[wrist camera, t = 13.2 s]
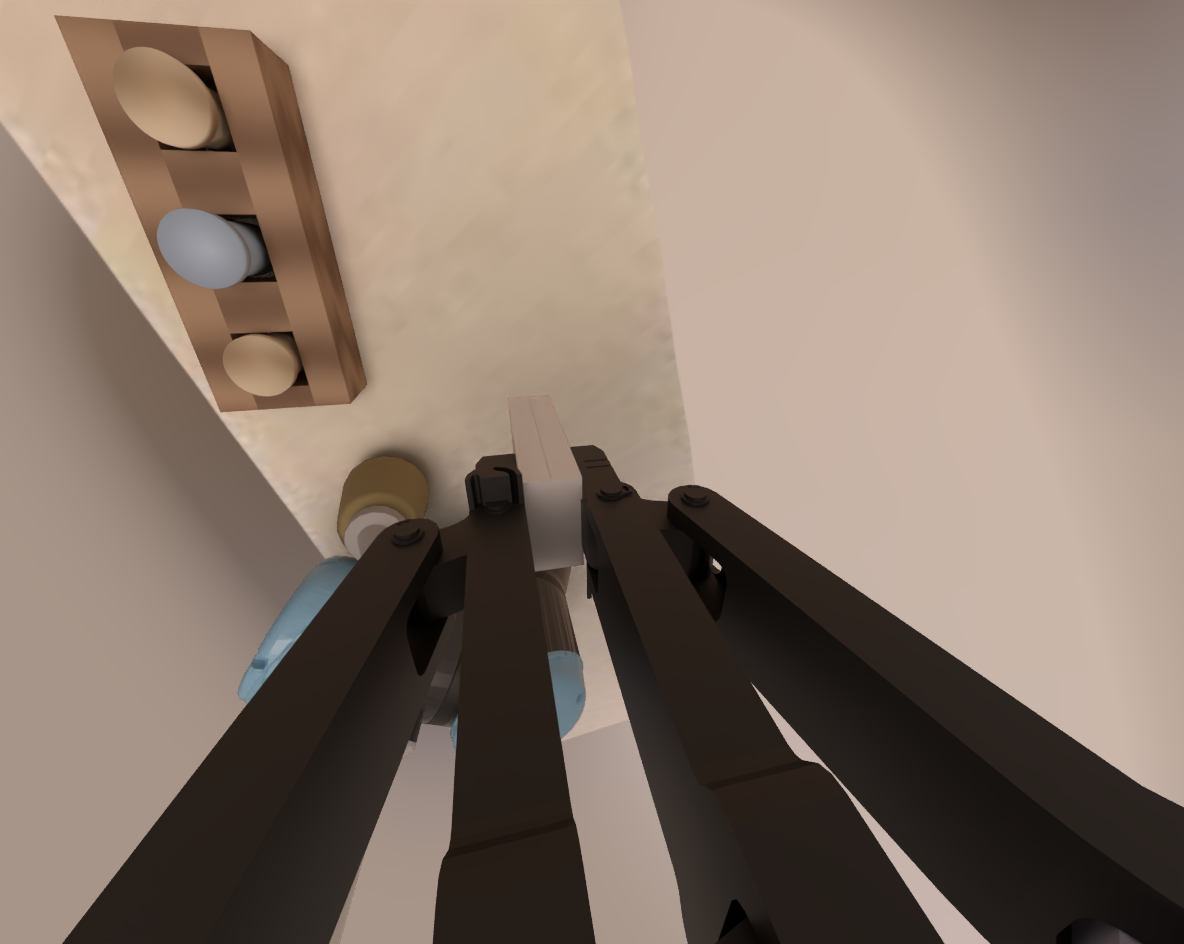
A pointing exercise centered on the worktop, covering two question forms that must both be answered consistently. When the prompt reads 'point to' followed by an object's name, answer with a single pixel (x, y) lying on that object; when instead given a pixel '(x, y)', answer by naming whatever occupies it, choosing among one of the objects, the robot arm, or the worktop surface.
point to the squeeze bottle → (379, 500)
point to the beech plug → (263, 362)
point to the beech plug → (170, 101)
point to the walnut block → (233, 203)
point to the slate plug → (212, 248)
